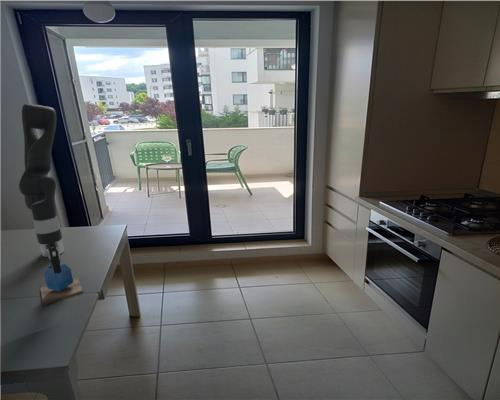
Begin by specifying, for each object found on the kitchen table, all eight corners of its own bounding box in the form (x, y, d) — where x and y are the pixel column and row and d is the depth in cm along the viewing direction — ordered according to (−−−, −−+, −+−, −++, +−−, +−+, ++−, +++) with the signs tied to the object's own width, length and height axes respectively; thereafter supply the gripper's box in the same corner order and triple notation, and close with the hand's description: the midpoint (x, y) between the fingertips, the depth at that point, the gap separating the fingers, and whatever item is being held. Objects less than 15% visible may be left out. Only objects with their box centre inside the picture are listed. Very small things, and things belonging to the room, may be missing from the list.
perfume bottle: (59, 291, 112) (52, 263, 109) (47, 288, 114) (40, 260, 110) (73, 282, 118) (67, 255, 114) (61, 279, 120) (55, 253, 116)
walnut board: (40, 289, 118) (40, 287, 117) (77, 278, 125) (77, 276, 125) (43, 305, 108) (42, 303, 107) (83, 292, 115) (82, 290, 115)
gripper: (62, 232, 106) (71, 274, 111) (57, 221, 117) (65, 259, 121) (36, 237, 101) (47, 281, 106) (34, 225, 112) (43, 265, 117)
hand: (57, 269), depth 114 cm, fingers closed on perfume bottle, 5 cm apart
